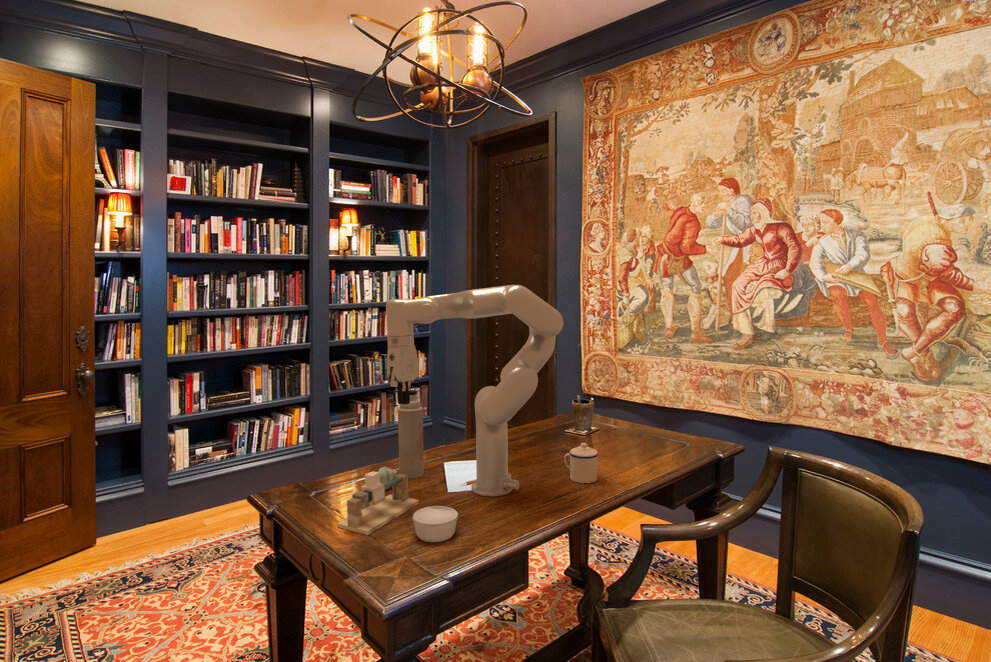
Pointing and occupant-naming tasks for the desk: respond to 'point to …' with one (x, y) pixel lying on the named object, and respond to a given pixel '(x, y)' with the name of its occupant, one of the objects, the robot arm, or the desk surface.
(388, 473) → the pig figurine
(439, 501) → the desk surface
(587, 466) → the teacup with lid
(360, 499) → the wooden toy assembly
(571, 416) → the desk surface
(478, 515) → the desk surface
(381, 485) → the marker sleeve
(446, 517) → the ramekin
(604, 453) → the desk surface
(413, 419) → the thermos bottle
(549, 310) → the robot arm
